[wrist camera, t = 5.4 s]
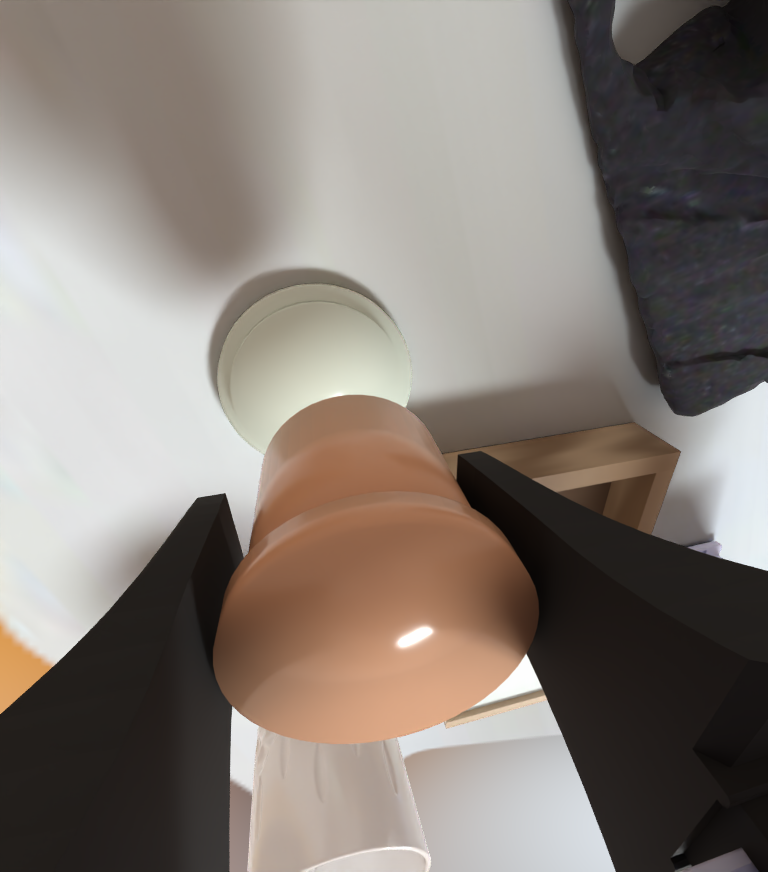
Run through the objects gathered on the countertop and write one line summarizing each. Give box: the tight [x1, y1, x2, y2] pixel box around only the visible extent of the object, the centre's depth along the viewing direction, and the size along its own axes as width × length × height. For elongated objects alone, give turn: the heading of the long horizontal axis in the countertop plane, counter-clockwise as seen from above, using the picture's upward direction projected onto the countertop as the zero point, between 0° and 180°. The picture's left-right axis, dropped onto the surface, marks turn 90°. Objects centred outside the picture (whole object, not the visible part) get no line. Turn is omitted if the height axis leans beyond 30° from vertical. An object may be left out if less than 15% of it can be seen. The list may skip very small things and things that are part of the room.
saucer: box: [217, 283, 412, 455], centre depth 17 cm, size 8×8×1 cm
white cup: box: [248, 726, 431, 872], centre depth 22 cm, size 8×8×10 cm
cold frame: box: [442, 422, 681, 535], centre depth 22 cm, size 14×11×4 cm
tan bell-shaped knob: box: [213, 395, 539, 744], centre depth 10 cm, size 6×6×6 cm
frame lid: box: [444, 654, 547, 729], centre depth 30 cm, size 10×10×1 cm
